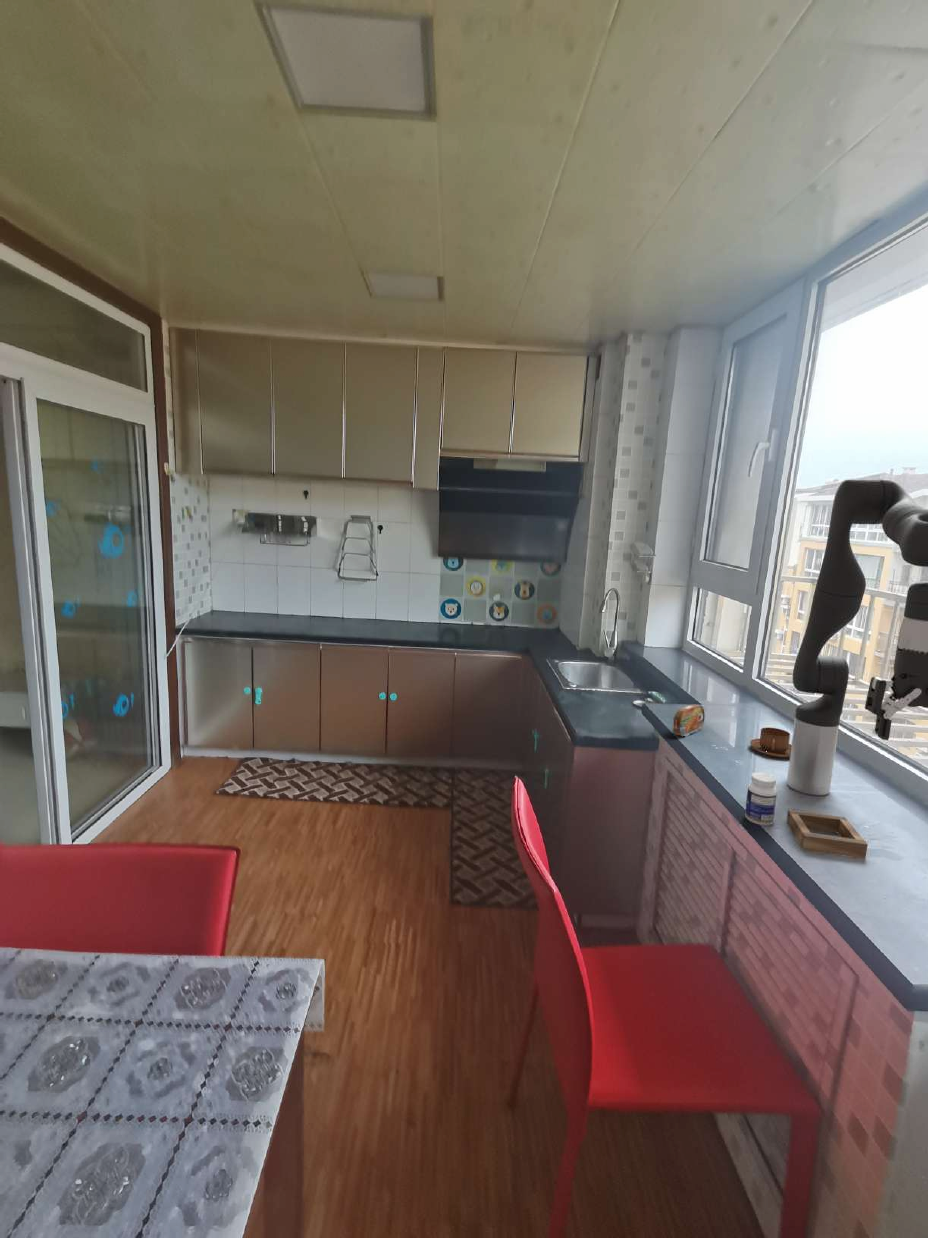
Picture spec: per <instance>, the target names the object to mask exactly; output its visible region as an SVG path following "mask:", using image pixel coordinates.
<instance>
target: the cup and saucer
mask: <svg viewBox="0 0 928 1238" xmlns="http://www.w3.org/2000/svg"><path fill="white" fill-rule="evenodd" d="M790 738H791V734H790V732H788V731H787V730H784V729H780V728H777V727H762V728H761V729H760V735H759V738H754V739H751V740H750V742H749V743H750V746H751V748H753V750H755V751H757V752H758V753H761V754H763V755H766V756H769V757H770V756H771V757H776V758H790V753H791V745H792V744H790ZM766 751H767V752H766Z"/></svg>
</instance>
